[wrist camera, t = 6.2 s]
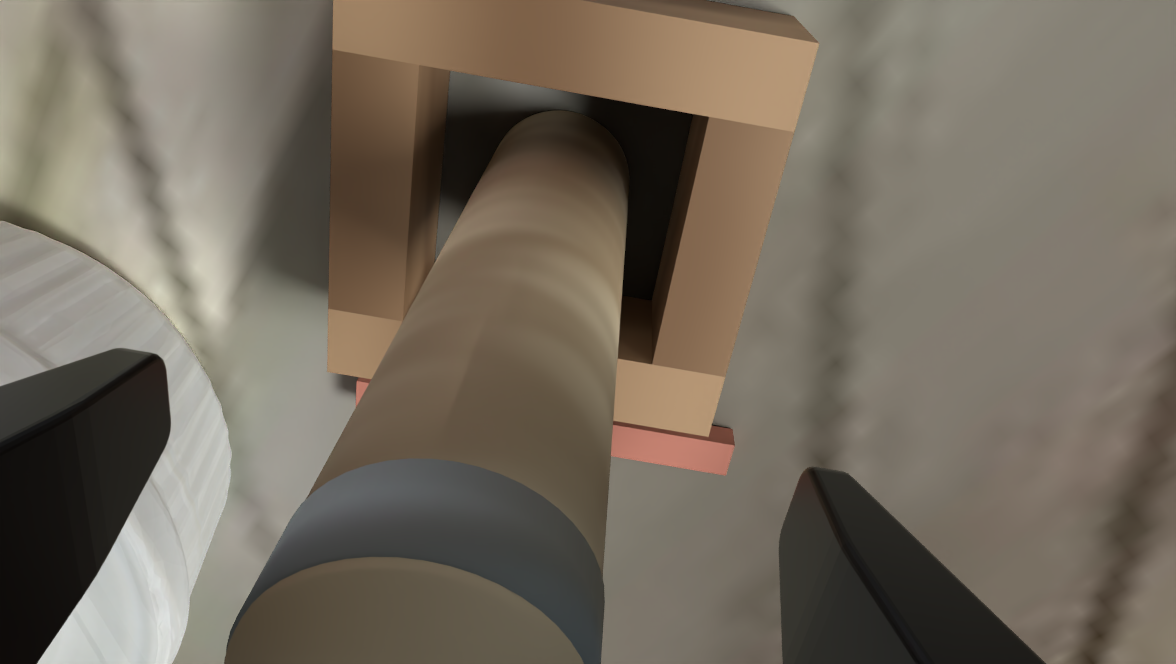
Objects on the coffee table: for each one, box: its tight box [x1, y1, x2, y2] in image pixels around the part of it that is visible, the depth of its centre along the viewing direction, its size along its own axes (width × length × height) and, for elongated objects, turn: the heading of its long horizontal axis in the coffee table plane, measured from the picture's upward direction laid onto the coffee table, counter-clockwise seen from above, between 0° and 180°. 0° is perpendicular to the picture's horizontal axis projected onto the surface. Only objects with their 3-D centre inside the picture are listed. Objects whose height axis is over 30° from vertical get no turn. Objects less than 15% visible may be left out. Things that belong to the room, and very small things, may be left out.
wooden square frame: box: [327, 0, 819, 475], centre depth 16 cm, size 8×9×2 cm
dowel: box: [224, 110, 630, 664], centre depth 11 cm, size 3×3×12 cm
